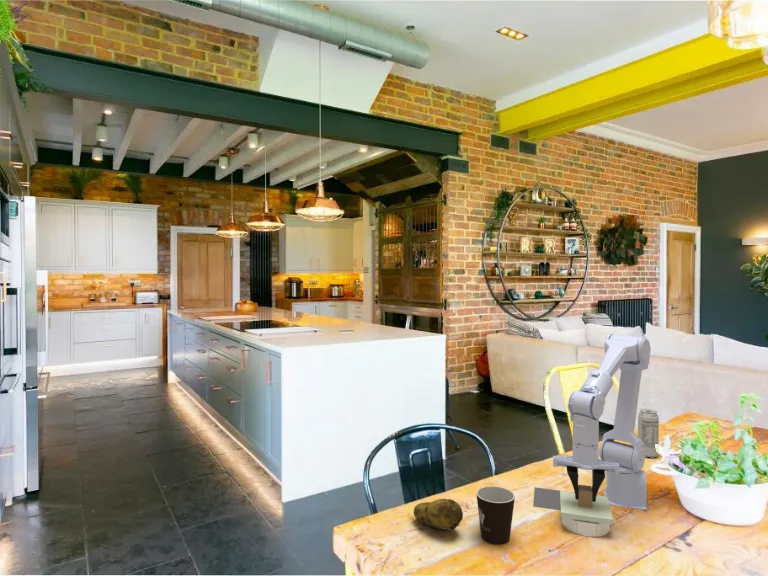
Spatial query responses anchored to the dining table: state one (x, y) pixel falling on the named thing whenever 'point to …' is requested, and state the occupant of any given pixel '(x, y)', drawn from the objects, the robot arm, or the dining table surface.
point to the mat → (547, 498)
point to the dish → (586, 527)
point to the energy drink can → (648, 431)
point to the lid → (585, 506)
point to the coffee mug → (495, 513)
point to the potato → (439, 513)
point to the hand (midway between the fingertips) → (585, 498)
